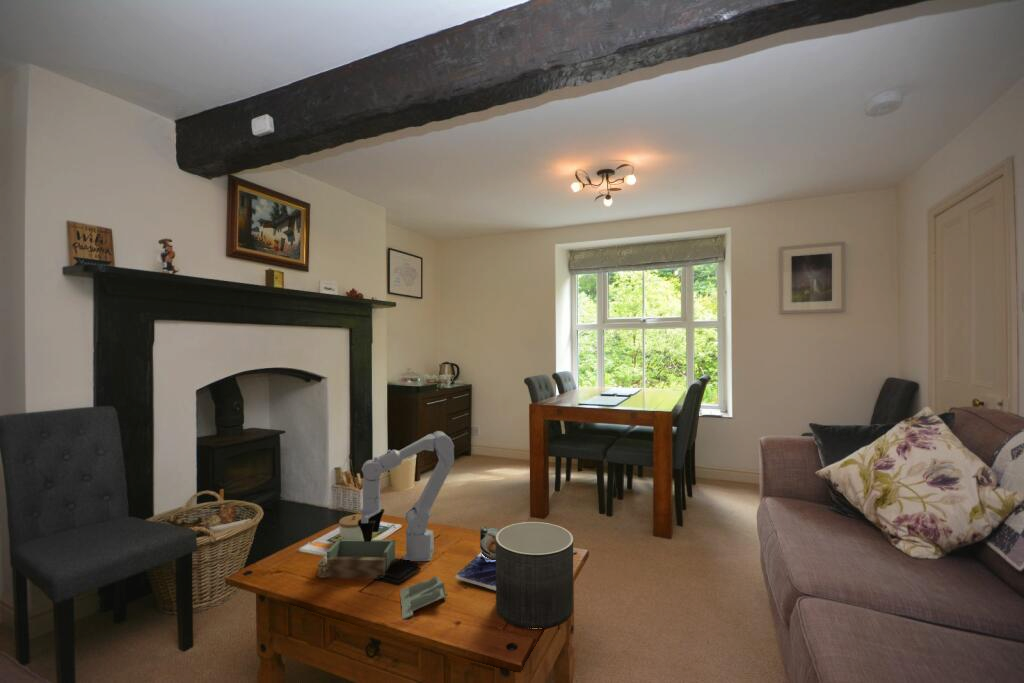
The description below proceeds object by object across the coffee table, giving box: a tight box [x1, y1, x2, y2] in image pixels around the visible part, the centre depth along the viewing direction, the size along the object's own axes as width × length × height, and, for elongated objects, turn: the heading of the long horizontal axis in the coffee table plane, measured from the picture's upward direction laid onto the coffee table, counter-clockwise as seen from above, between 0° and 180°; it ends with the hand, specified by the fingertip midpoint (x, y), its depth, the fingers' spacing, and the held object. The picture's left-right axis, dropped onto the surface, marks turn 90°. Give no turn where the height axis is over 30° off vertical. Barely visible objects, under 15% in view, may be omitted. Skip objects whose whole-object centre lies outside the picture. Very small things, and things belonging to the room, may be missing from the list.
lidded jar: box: [338, 513, 364, 540], centre depth 178 cm, size 11×11×9 cm
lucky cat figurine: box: [479, 525, 500, 560], centre depth 161 cm, size 15×12×14 cm
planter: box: [495, 521, 574, 630], centre depth 133 cm, size 22×22×20 cm
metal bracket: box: [399, 576, 449, 620], centre depth 136 cm, size 14×6×15 cm
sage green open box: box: [322, 538, 396, 573], centre depth 156 cm, size 20×13×6 cm, turn 89°
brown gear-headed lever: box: [317, 557, 386, 579], centre depth 150 cm, size 22×4×6 cm, turn 88°
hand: (371, 536), depth 159 cm, fingers open, 7 cm apart
